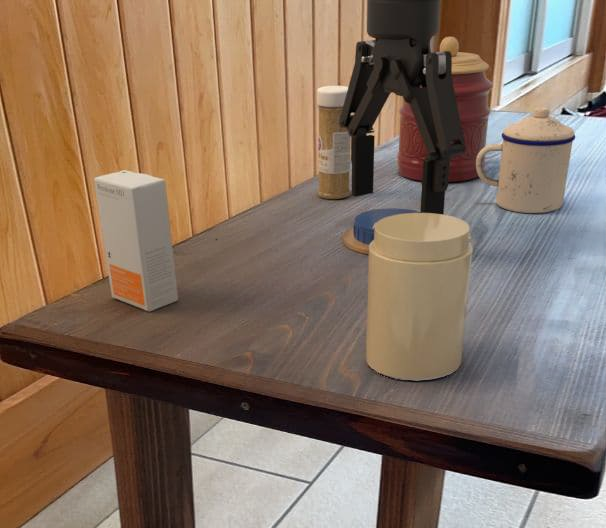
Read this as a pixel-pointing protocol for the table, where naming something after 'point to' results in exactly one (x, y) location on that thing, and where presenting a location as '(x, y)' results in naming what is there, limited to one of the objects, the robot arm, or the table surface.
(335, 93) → the brown spice bottle
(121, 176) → the cosmetic box
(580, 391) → the table surface
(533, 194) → the teacup with lid
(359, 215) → the lid
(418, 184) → the table surface
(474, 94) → the kitchen canister
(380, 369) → the jar
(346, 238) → the coaster
